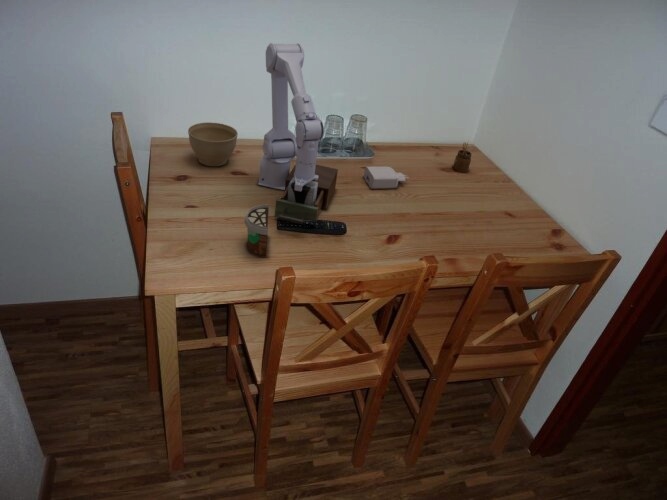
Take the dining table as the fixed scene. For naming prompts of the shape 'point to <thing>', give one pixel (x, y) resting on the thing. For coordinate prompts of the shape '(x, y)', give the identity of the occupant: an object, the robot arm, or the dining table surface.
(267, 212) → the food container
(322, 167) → the cabinet
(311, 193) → the medicine box
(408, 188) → the dining table surface
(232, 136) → the planter bowl
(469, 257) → the dining table surface
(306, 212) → the drawer
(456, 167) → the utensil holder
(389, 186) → the charger
